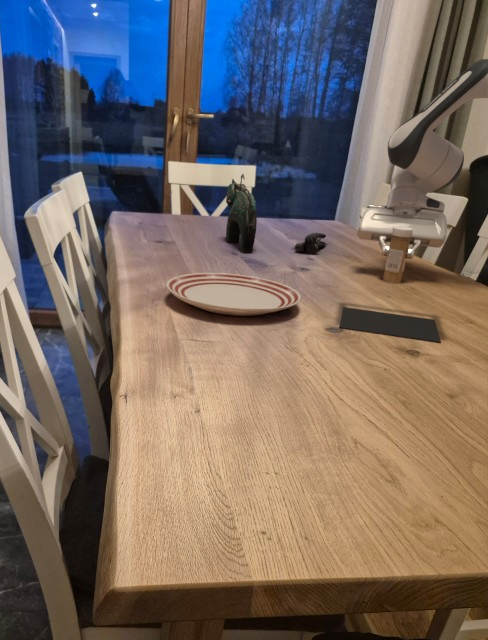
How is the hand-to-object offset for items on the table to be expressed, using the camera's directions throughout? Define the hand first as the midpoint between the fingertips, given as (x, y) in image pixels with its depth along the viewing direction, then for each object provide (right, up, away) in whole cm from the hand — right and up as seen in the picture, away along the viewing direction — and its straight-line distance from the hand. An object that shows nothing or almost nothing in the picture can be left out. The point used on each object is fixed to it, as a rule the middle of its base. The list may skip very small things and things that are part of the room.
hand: (397, 256), depth 137 cm
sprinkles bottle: (0, -6, +4) cm, 7 cm away
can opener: (-12, +11, +36) cm, 39 cm away
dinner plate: (-41, -15, -19) cm, 47 cm away
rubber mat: (-11, -20, -26) cm, 34 cm away
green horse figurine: (-35, +11, +34) cm, 50 cm away
